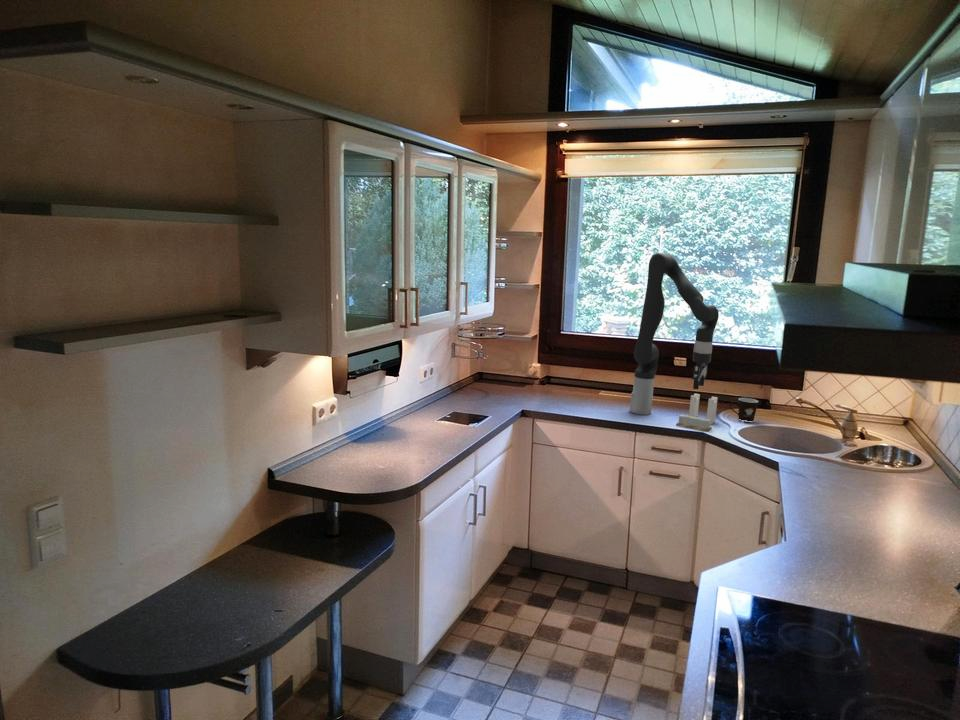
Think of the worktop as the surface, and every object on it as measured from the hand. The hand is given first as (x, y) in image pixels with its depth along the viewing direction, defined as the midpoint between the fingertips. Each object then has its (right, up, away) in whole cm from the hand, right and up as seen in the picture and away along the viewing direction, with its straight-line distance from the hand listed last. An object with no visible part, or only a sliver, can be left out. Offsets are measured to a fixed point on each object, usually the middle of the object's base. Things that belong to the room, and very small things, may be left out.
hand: (698, 387), depth 291 cm
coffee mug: (+27, -16, +18) cm, 36 cm away
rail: (-1, -17, +3) cm, 17 cm away
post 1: (+3, -15, +16) cm, 23 cm away
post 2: (+9, -17, +12) cm, 22 cm away
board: (-1, -18, +3) cm, 18 cm away
